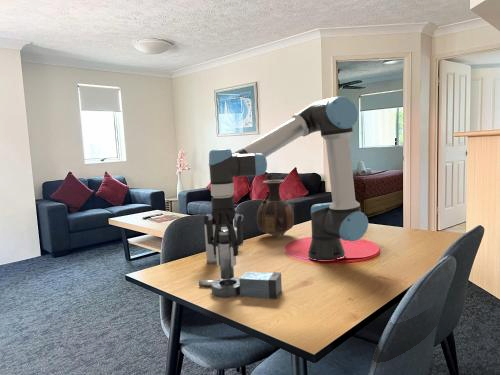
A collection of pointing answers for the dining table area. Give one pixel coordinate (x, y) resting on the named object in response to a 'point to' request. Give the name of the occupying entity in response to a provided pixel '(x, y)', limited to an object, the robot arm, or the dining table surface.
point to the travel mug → (209, 248)
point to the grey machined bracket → (247, 285)
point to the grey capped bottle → (225, 254)
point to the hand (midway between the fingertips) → (226, 264)
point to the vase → (274, 212)
